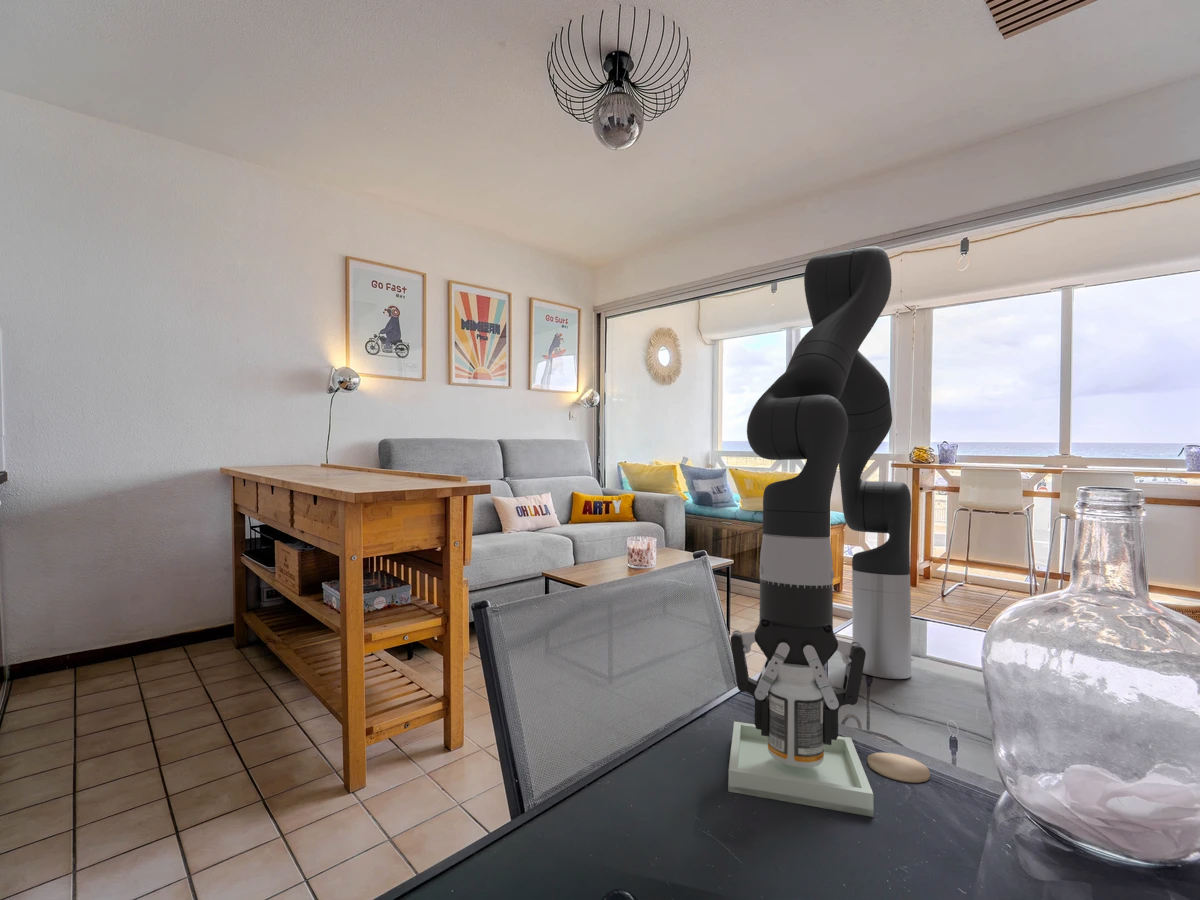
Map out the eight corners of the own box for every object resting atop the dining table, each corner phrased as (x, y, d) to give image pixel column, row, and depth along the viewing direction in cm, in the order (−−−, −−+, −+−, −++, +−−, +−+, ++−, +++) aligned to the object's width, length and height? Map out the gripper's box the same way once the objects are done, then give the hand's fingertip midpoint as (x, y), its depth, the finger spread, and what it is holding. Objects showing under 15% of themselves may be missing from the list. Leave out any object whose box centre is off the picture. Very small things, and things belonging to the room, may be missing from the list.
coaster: (863, 752, 65) (863, 749, 65) (921, 761, 63) (921, 757, 63) (873, 776, 59) (873, 772, 59) (937, 786, 57) (937, 782, 57)
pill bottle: (822, 751, 61) (822, 658, 62) (825, 775, 56) (825, 672, 57) (768, 742, 63) (769, 651, 64) (765, 764, 58) (766, 665, 58)
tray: (733, 738, 67) (734, 721, 67) (851, 756, 64) (851, 737, 64) (728, 791, 55) (728, 770, 55) (873, 816, 51) (873, 794, 51)
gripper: (861, 577, 63) (862, 734, 61) (729, 569, 67) (727, 715, 65) (874, 587, 55) (875, 764, 54) (726, 576, 59) (723, 741, 58)
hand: (794, 737), depth 60 cm, fingers closed on pill bottle, 5 cm apart
